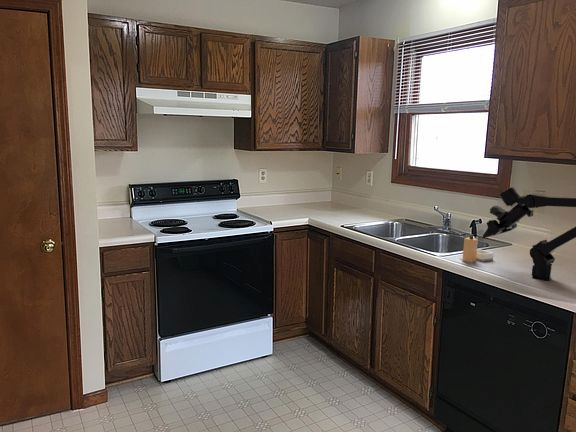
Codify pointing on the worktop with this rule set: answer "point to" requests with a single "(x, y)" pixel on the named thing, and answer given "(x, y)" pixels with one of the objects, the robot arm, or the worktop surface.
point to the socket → (484, 255)
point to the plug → (470, 249)
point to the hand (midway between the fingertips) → (487, 235)
